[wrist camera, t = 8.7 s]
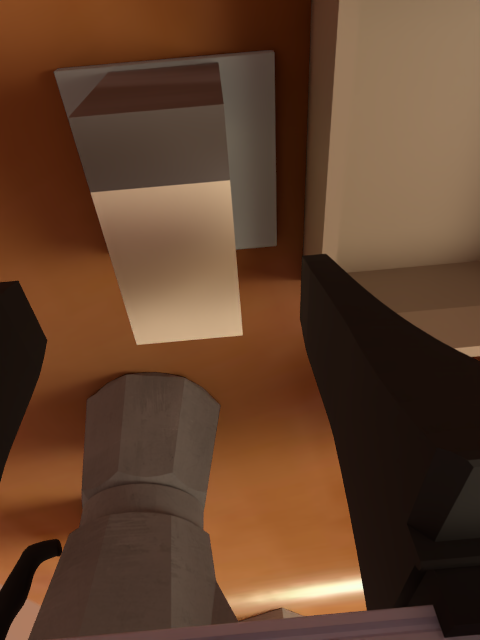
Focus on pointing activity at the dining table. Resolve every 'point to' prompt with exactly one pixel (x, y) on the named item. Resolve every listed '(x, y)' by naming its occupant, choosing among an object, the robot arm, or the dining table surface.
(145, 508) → the coffeepot
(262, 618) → the white tower
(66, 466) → the dining table surface
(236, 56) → the slate mat
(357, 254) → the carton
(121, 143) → the box
